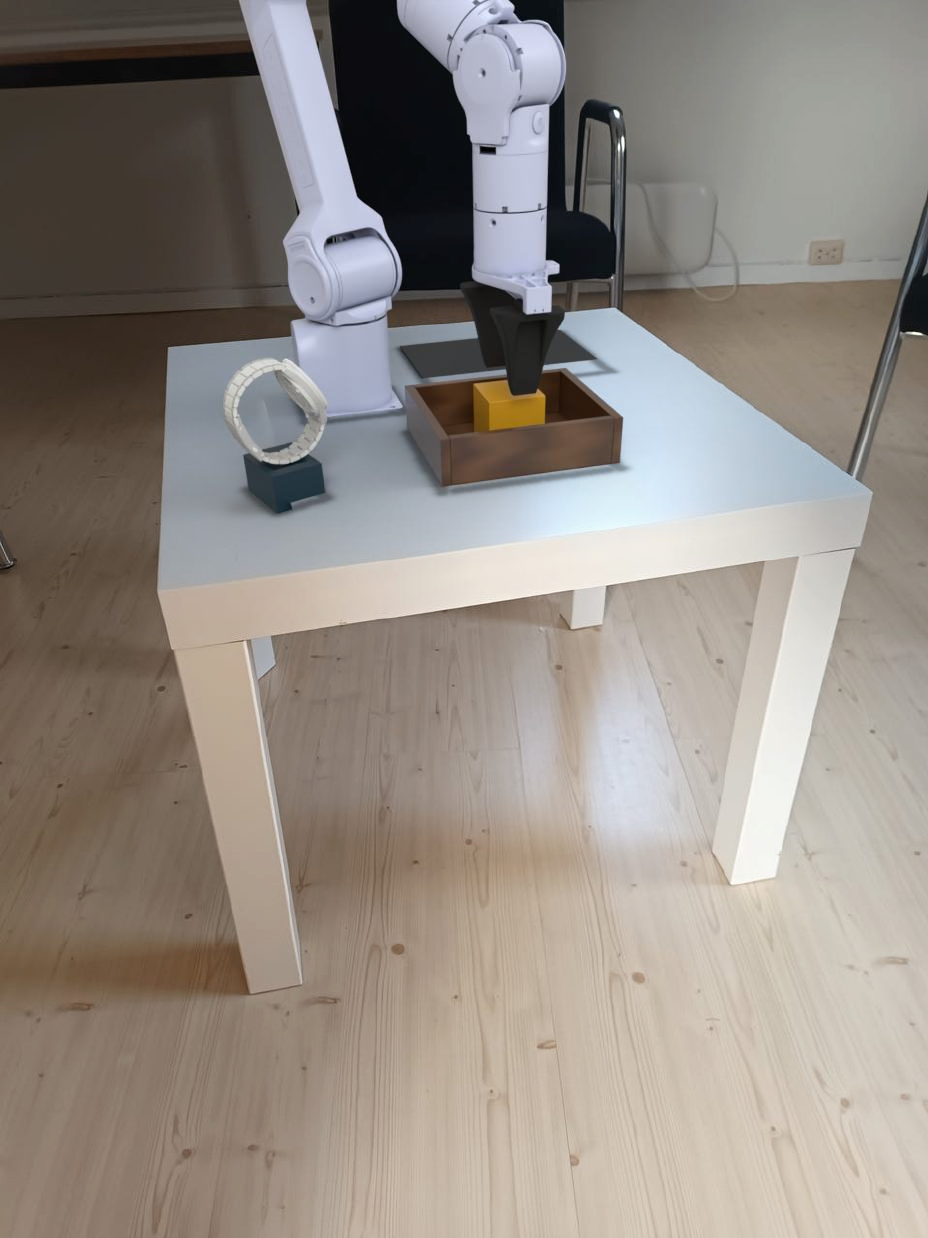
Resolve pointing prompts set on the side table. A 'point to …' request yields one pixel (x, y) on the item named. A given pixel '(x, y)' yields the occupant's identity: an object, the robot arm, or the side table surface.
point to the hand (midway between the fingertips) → (509, 378)
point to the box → (512, 431)
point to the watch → (289, 465)
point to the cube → (505, 407)
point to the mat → (480, 356)
